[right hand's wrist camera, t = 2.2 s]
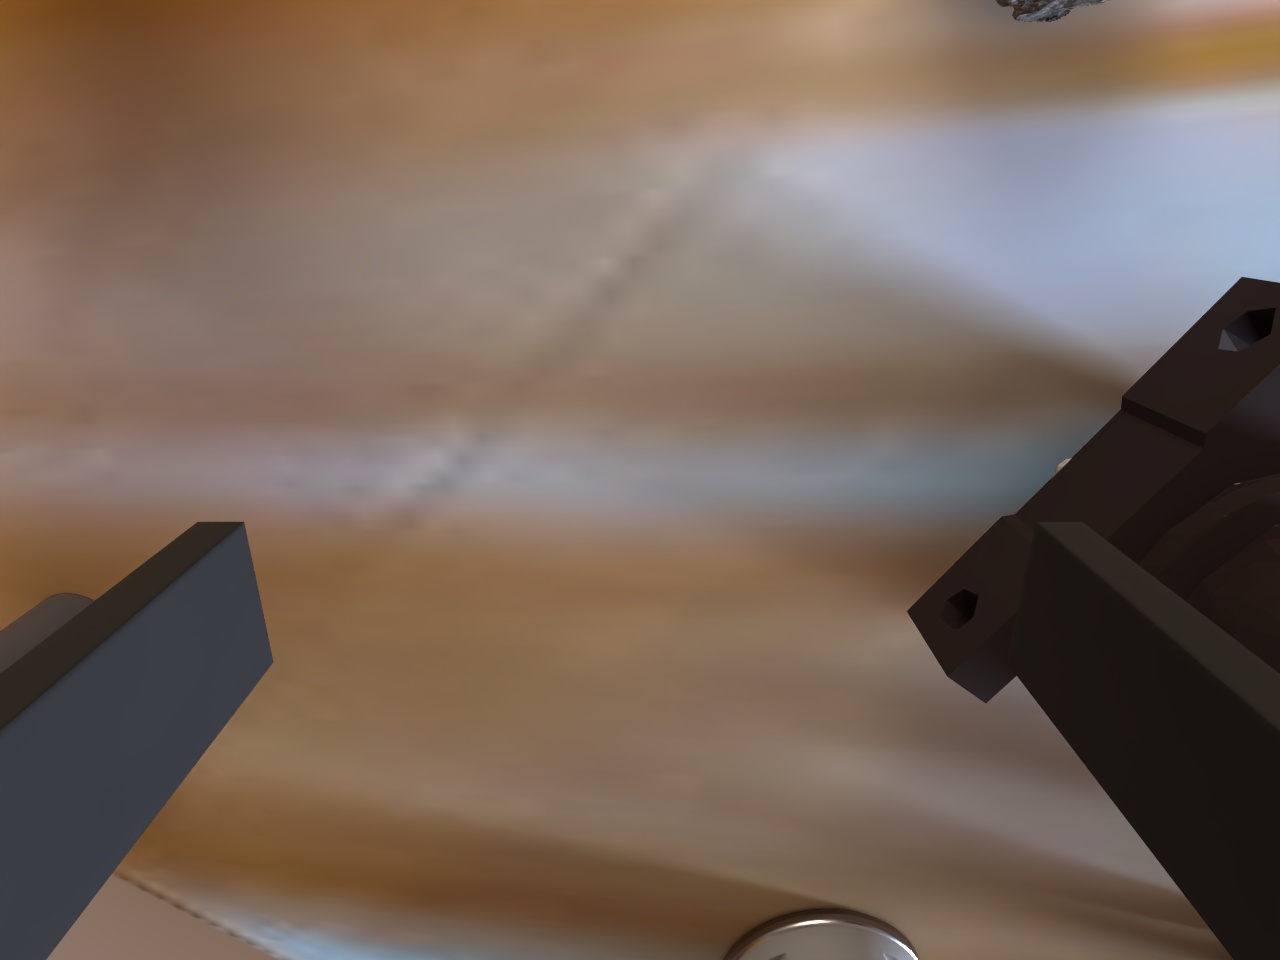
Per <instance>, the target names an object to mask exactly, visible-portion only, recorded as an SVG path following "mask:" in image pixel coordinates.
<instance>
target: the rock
mask: <svg viewBox="0 0 1280 960" xmlns="http://www.w3.org/2000/svg"><path fill="white" fill-rule="evenodd" d="M996 1H997V3H998V4H999V5H1000V6H1002V7H1006V6H1013V7H1014V9H1015V11H1014V12H1013V15H1012V16H1013V17H1014V19H1015V20H1018V21H1020V20H1022V21H1023V20H1024V21H1029V22H1032V21H1033V20H1036V21H1037V22H1038V21H1040V22H1041V21H1046V22H1047V21H1048V22H1051V21H1055V20H1058V18H1059V19H1061V17H1063V16H1066V14H1068V13H1069V12H1071V11H1070V10H1065V11H1063V10H1059V9H1073V8H1076V7H1078V6H1085V5H1087V6H1089V4H1098V3H1104V2H1105V1H1108V0H996ZM1057 10H1058V11H1057Z"/></svg>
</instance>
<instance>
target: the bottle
mask: <svg viewBox="0 0 1280 960" xmlns="http://www.w3.org/2000/svg"><path fill="white" fill-rule="evenodd" d="M93 602H94V601H92V600H90V599H88V598H86V597H83V596H80V595H75V594H58V595H54V596H51V597H49V598H47V599H45V600H44V601H43V602H41V603H40V604H38V605H37V606H35V607H34V608H33V609H31V610H30V611H28V612H27V613H25V614H24V615H23V616H21V617H20V618H18V619H17V620H16V621H14V622H13V623H11V624H10V625H8V626H7V627H6V628H4V629H3V630H1V631H0V673H2V672H3V671H4V670H6V669H7V668H8V667H10V666H11V665H12V664H13V663H15V662H16V661H17V660H19V659H20V658H21V657H23V656H24V655H25V654H26V653H28V652H29V651H30V650H32V649H33V648H34V647H36V646H37V645H38V644H40V643H41V642H42V641H43V640H45V639H46V638H47V637H49V636H50V635H51V634H53V633H54V632H55V631H56V630H58V629H59V628H60V627H62V626H63V625H64V624H66V623H67V622H68V621H69V620H71V619H72V618H73V617H75V616H76V615H77V614H79V613H80V612H81V611H82V610H84V609H85V608H86V607H88V606H89V605H90V604H92V603H93Z"/></svg>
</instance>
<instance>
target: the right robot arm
mask: <svg viewBox="0 0 1280 960" xmlns="http://www.w3.org/2000/svg"><path fill="white" fill-rule="evenodd" d="M272 663H273V658H272V653H271V648H270V644H269V639H268V634H267V629H266V625H265V620H264V615H263V610H262V606H261V601H260V596H259V591H258V586H257V582H256V577H255V572H254V567H253V563H252V558H251V553H250V548H249V543H248V539H247V534H246V529H245V524H244V522H197V523H196V524H194V525H193V526H192V527H191V528H189V529H188V530H187V531H185V532H184V533H183V534H181V535H180V536H179V537H178V538H176V539H175V540H174V541H172V542H171V543H170V544H168V545H167V546H166V547H165V548H163V549H162V550H161V551H159V552H158V553H157V554H155V555H154V556H153V557H152V558H150V559H149V560H148V561H146V562H145V563H144V564H142V565H141V566H140V567H138V568H137V569H136V570H135V571H133V572H132V573H131V574H129V575H128V576H127V577H125V578H124V579H123V580H122V581H120V582H119V583H118V584H116V585H115V586H114V587H112V588H111V589H110V590H109V591H107V592H106V593H105V594H103V595H102V596H101V597H99V598H98V599H97V600H96V601H94V602H93V603H92V604H90V605H89V606H88V607H86V608H85V609H84V610H82V611H81V612H80V613H79V614H77V615H76V616H75V617H73V618H72V619H71V620H69V621H68V622H67V623H66V624H64V625H63V626H62V627H60V628H59V629H58V630H56V631H55V632H54V633H53V634H51V635H50V636H49V637H47V638H46V639H45V640H43V641H42V642H41V643H40V644H38V645H37V646H36V647H34V648H33V649H32V650H30V651H29V652H28V653H26V654H25V655H24V656H23V657H21V658H20V659H19V660H17V661H16V662H15V663H13V664H12V665H11V666H10V667H8V668H7V669H6V670H4V671H3V672H2V673H0V960H46V959H47V958H48V956H49V955H50V954H51V953H52V951H53V950H54V949H55V947H56V946H57V945H58V943H59V942H60V941H61V939H62V938H63V937H64V936H65V934H66V933H67V932H68V930H69V929H70V928H71V926H72V925H73V924H74V923H75V921H76V920H77V919H78V917H79V916H80V915H81V913H82V912H83V911H84V909H85V908H86V907H87V906H88V904H89V903H90V902H91V900H92V899H93V898H94V896H95V895H96V894H97V892H98V891H99V890H100V888H101V887H102V886H103V885H104V883H105V882H106V881H107V879H108V878H109V877H110V875H111V874H112V873H113V871H114V870H115V869H116V868H117V866H118V865H119V864H120V862H121V861H122V860H123V858H124V857H125V856H126V854H127V853H128V852H129V851H130V849H131V848H132V847H133V845H134V844H135V843H136V841H137V840H138V839H139V837H140V836H141V835H142V834H143V832H144V831H145V830H146V828H147V827H148V826H149V824H150V823H151V822H152V820H153V819H154V818H155V817H156V815H157V814H158V813H159V811H160V810H161V809H162V807H163V806H164V805H165V803H166V802H167V801H168V799H169V798H170V797H171V796H172V794H173V793H174V792H175V790H176V789H177V788H178V786H179V785H180V784H181V782H182V781H183V780H184V779H185V777H186V776H187V775H188V773H189V772H190V771H191V769H192V768H193V767H194V765H195V764H196V763H197V762H198V760H199V759H200V758H201V756H202V755H203V754H204V752H205V751H206V750H207V748H208V747H209V746H210V745H211V743H212V742H213V741H214V739H215V738H216V737H217V735H218V734H219V733H220V731H221V730H222V729H223V728H224V726H225V725H226V724H227V722H228V721H229V720H230V718H231V717H232V716H233V714H234V713H235V712H236V710H237V709H238V708H239V707H240V705H241V704H242V703H243V701H244V700H245V699H246V697H247V696H248V695H249V693H250V692H251V691H252V690H253V688H254V687H255V686H256V684H257V683H258V682H259V680H260V679H261V678H262V676H263V675H264V674H265V673H266V671H267V670H268V669H269V667H270V666H271V665H272ZM1007 663H1008V665H1009V666H1010V667H1011V669H1012V670H1013V671H1014V673H1015V674H1016V675H1017V676H1018V678H1019V679H1020V680H1021V682H1022V683H1023V684H1024V686H1025V687H1026V688H1027V690H1028V691H1029V692H1030V693H1031V695H1032V696H1033V697H1034V699H1035V700H1036V701H1037V703H1038V704H1039V705H1040V707H1041V708H1042V709H1043V710H1044V712H1045V713H1046V714H1047V716H1048V717H1049V718H1050V720H1051V721H1052V722H1053V724H1054V725H1055V726H1056V728H1057V729H1058V730H1059V731H1060V733H1061V734H1062V735H1063V737H1064V738H1065V739H1066V741H1067V742H1068V743H1069V745H1070V746H1071V747H1072V748H1073V750H1074V751H1075V752H1076V754H1077V755H1078V756H1079V758H1080V759H1081V760H1082V762H1083V763H1084V764H1085V765H1086V767H1087V768H1088V769H1089V771H1090V772H1091V773H1092V775H1093V776H1094V777H1095V779H1096V780H1097V781H1098V782H1099V784H1100V785H1101V786H1102V788H1103V789H1104V790H1105V792H1106V793H1107V794H1108V796H1109V797H1110V798H1111V799H1112V801H1113V802H1114V803H1115V805H1116V806H1117V807H1118V809H1119V810H1120V811H1121V813H1122V814H1123V815H1124V817H1125V818H1126V819H1127V820H1128V822H1129V823H1130V824H1131V826H1132V827H1133V828H1134V830H1135V831H1136V832H1137V834H1138V835H1139V836H1140V837H1141V839H1142V840H1143V841H1144V843H1145V844H1146V845H1147V847H1148V848H1149V849H1150V851H1151V852H1152V853H1153V854H1154V856H1155V857H1156V858H1157V860H1158V861H1159V862H1160V864H1161V865H1162V866H1163V868H1164V869H1165V870H1166V871H1167V873H1168V874H1169V875H1170V877H1171V878H1172V879H1173V881H1174V882H1175V883H1176V885H1177V886H1178V887H1179V888H1180V890H1181V891H1182V892H1183V894H1184V895H1185V896H1186V898H1187V899H1188V900H1189V902H1190V903H1191V904H1192V906H1193V907H1194V908H1195V909H1196V911H1197V912H1198V913H1199V915H1200V916H1201V917H1202V919H1203V920H1204V921H1205V923H1206V924H1207V925H1208V926H1209V928H1210V929H1211V930H1212V932H1213V933H1214V934H1215V936H1216V937H1217V938H1218V940H1219V941H1220V942H1221V943H1222V945H1223V946H1224V947H1225V949H1226V950H1227V951H1228V953H1229V954H1230V955H1231V957H1232V958H1233V959H1234V960H1280V673H1278V672H1277V671H1276V670H1274V669H1273V668H1272V667H1270V666H1269V665H1268V664H1267V663H1265V662H1264V661H1263V660H1261V659H1260V658H1259V657H1257V656H1256V655H1255V654H1254V653H1252V652H1251V651H1250V650H1248V649H1247V648H1246V647H1244V646H1243V645H1242V644H1240V643H1239V642H1238V641H1237V640H1235V639H1234V638H1233V637H1231V636H1230V635H1229V634H1227V633H1226V632H1225V631H1224V630H1222V629H1221V628H1220V627H1218V626H1217V625H1216V624H1214V623H1213V622H1212V621H1211V620H1209V619H1208V618H1207V617H1205V616H1204V615H1203V614H1201V613H1200V612H1199V611H1198V610H1196V609H1195V608H1194V607H1192V606H1191V605H1190V604H1188V603H1187V602H1186V601H1184V600H1183V599H1182V598H1181V597H1179V596H1178V595H1177V594H1175V593H1174V592H1173V591H1171V590H1170V589H1169V588H1168V587H1166V586H1165V585H1164V584H1162V583H1161V582H1160V581H1158V580H1157V579H1156V578H1155V577H1153V576H1152V575H1151V574H1149V573H1148V572H1147V571H1145V570H1144V569H1143V568H1142V567H1140V566H1139V565H1138V564H1136V563H1135V562H1134V561H1132V560H1131V559H1130V558H1128V557H1127V556H1126V555H1125V554H1123V553H1122V552H1121V551H1119V550H1118V549H1117V548H1115V547H1114V546H1113V545H1112V544H1110V543H1109V542H1108V541H1106V540H1105V539H1104V538H1102V537H1101V536H1100V535H1099V534H1097V533H1096V532H1095V531H1093V530H1092V529H1091V528H1089V527H1088V526H1087V525H1086V524H1084V523H1083V522H1036V524H1035V529H1034V534H1033V539H1032V543H1031V548H1030V553H1029V558H1028V563H1027V567H1026V572H1025V577H1024V582H1023V586H1022V591H1021V596H1020V601H1019V606H1018V610H1017V615H1016V620H1015V625H1014V629H1013V634H1012V639H1011V644H1010V648H1009V653H1008V658H1007ZM724 960H919V957H918V955H917V953H916V951H915V949H914V947H913V946H912V944H911V943H910V942H909V940H908V939H907V938H906V937H905V936H904V935H903V934H902V933H901V932H900V931H898V930H897V929H895V928H894V927H893V926H891V925H889V924H888V923H886V922H884V921H882V920H880V919H877V918H875V917H872V916H869V915H866V914H862V913H859V912H853V911H848V910H838V909H817V910H807V911H801V912H796V913H792V914H788V915H785V916H781V917H778V918H776V919H773V920H771V921H768V922H766V923H764V924H762V925H760V926H758V927H757V928H755V929H753V930H752V931H750V932H749V933H747V934H746V935H745V936H743V937H742V938H741V939H740V940H739V941H738V942H737V943H736V944H735V945H734V946H733V947H732V948H731V949H730V951H729V952H728V953H727V955H726V956H725V958H724Z"/></svg>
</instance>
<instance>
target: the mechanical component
mask: <svg viewBox="0 0 1280 960" xmlns="http://www.w3.org/2000/svg"><path fill="white" fill-rule="evenodd" d="M1036 522H1083V523H1084V524H1086V525H1087V526H1088V527H1089V528H1091V529H1092V530H1093V531H1095V532H1096V533H1097V534H1099V535H1100V536H1101V537H1102V538H1104V539H1105V540H1106V541H1108V542H1109V543H1110V544H1112V545H1113V546H1114V547H1115V548H1117V549H1118V550H1119V551H1121V552H1122V553H1123V554H1125V555H1126V556H1127V557H1128V558H1130V559H1131V560H1132V561H1134V562H1135V563H1136V564H1138V565H1139V566H1140V567H1142V568H1143V569H1144V570H1145V571H1147V572H1148V573H1149V574H1151V575H1152V576H1153V577H1155V578H1156V579H1157V580H1158V581H1160V582H1161V583H1162V584H1164V585H1165V586H1166V587H1168V588H1169V589H1170V590H1171V591H1173V592H1174V593H1175V594H1177V595H1178V596H1179V597H1181V598H1182V599H1183V600H1184V601H1186V602H1187V603H1188V604H1190V605H1191V606H1192V607H1194V608H1195V609H1196V610H1198V611H1199V612H1200V613H1201V614H1203V615H1204V616H1205V617H1207V618H1208V619H1209V620H1211V621H1212V622H1213V623H1214V624H1216V625H1217V626H1218V627H1220V628H1221V629H1222V630H1224V631H1225V632H1226V633H1227V634H1229V635H1230V636H1231V637H1233V638H1234V639H1235V640H1237V641H1238V642H1239V643H1240V644H1242V645H1243V646H1244V647H1246V648H1247V649H1248V650H1250V651H1251V652H1252V653H1254V654H1255V655H1256V656H1257V657H1259V658H1260V659H1261V660H1263V661H1264V662H1265V663H1267V664H1268V665H1269V666H1270V667H1272V668H1273V669H1274V670H1276V671H1277V672H1278V673H1280V283H1277V282H1271V281H1264V280H1258V279H1252V278H1245V277H1241V278H1240V279H1239V280H1238V281H1237V282H1236V283H1235V284H1234V285H1233V286H1232V287H1231V288H1230V289H1229V290H1228V291H1227V292H1226V293H1225V294H1224V295H1223V296H1222V297H1221V298H1220V299H1219V300H1218V301H1217V302H1216V303H1215V304H1214V305H1213V306H1212V307H1211V308H1210V309H1209V310H1208V311H1207V312H1206V313H1205V314H1204V315H1203V316H1202V317H1201V318H1200V319H1199V320H1198V321H1197V322H1196V323H1195V324H1194V325H1193V326H1192V327H1191V328H1190V329H1189V330H1188V331H1187V332H1186V333H1185V334H1184V335H1183V336H1182V337H1181V338H1180V339H1179V340H1178V341H1177V342H1176V343H1175V344H1174V345H1173V346H1172V347H1171V348H1170V349H1169V350H1168V351H1167V352H1166V353H1165V354H1164V355H1163V356H1162V357H1161V358H1160V359H1159V360H1158V361H1157V362H1156V363H1155V364H1154V365H1153V366H1152V367H1151V368H1150V369H1149V370H1148V371H1147V372H1146V373H1145V374H1144V375H1143V376H1142V377H1141V378H1140V379H1139V380H1138V381H1137V382H1136V383H1135V384H1134V385H1133V386H1132V387H1131V388H1130V389H1129V390H1128V391H1127V392H1126V393H1125V394H1124V395H1123V396H1122V404H1121V410H1120V411H1119V412H1118V413H1117V414H1116V415H1115V416H1114V417H1113V418H1112V419H1111V420H1110V421H1109V422H1108V423H1107V424H1106V425H1105V426H1104V427H1103V428H1102V429H1101V430H1100V431H1099V432H1098V433H1097V434H1096V435H1095V436H1094V437H1093V438H1092V439H1091V440H1090V441H1089V442H1088V443H1087V444H1086V445H1085V446H1084V447H1083V448H1082V449H1081V450H1080V451H1079V452H1078V453H1077V454H1076V455H1075V456H1074V457H1073V458H1070V459H1065V460H1064V461H1063V462H1061V463H1060V464H1059V465H1058V466H1057V469H1056V473H1055V475H1054V476H1052V478H1051V479H1050V480H1049V481H1048V482H1047V483H1046V484H1045V485H1044V486H1043V487H1042V488H1041V489H1040V490H1039V491H1038V492H1037V493H1036V494H1035V495H1034V496H1033V497H1032V498H1031V499H1030V500H1029V501H1028V502H1027V503H1026V504H1025V505H1024V506H1023V507H1022V508H1021V509H1020V510H1019V511H1018V512H1017V513H1016V514H1015V515H1010V516H1002V517H1001V518H1000V519H999V520H998V521H997V522H996V523H995V524H994V525H993V526H992V527H991V528H990V529H989V530H988V531H987V532H986V533H985V534H984V535H983V536H982V537H981V538H980V539H979V540H978V541H977V542H976V543H975V544H974V545H973V546H972V547H971V548H970V549H969V550H968V551H967V552H966V553H965V554H964V555H963V556H962V557H961V558H960V559H959V560H958V561H957V562H956V563H955V564H954V565H953V566H952V567H951V568H950V569H949V570H948V571H947V572H946V573H945V574H944V575H943V576H942V577H941V578H940V579H939V580H938V581H937V582H936V583H935V584H934V585H933V586H932V587H931V588H930V589H929V590H928V591H927V592H926V593H925V594H924V595H923V596H922V597H921V598H920V599H919V600H918V601H917V602H916V603H915V604H914V605H913V606H912V607H911V608H910V609H909V610H908V611H907V612H908V614H909V616H910V617H911V619H912V620H913V622H914V624H915V625H916V627H917V628H918V630H919V632H920V633H921V635H922V636H923V638H924V640H925V641H926V643H927V644H928V646H929V648H930V649H931V651H932V653H933V654H934V656H935V657H936V659H937V661H938V662H939V664H940V665H941V667H942V669H943V670H944V672H945V673H946V675H947V677H949V678H950V679H952V680H953V681H955V682H956V683H957V684H959V685H960V686H962V687H963V688H965V689H966V690H967V691H969V692H970V693H972V694H973V695H975V696H976V697H978V698H979V699H980V700H982V701H983V702H985V703H987V702H988V701H989V700H990V699H991V698H992V697H993V696H995V695H996V694H997V693H998V692H999V691H1000V690H1001V689H1002V688H1003V687H1005V686H1006V685H1007V684H1008V683H1009V682H1010V681H1011V680H1012V679H1013V678H1014V677H1016V676H1017V675H1016V674H1015V673H1014V671H1013V670H1012V669H1011V667H1010V666H1009V665H1008V663H1007V658H1008V653H1009V648H1010V644H1011V639H1012V634H1013V629H1014V625H1015V620H1016V615H1017V610H1018V606H1019V601H1020V596H1021V591H1022V586H1023V582H1024V577H1025V572H1026V567H1027V563H1028V558H1029V553H1030V548H1031V543H1032V539H1033V534H1034V529H1035V524H1036Z"/></svg>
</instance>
